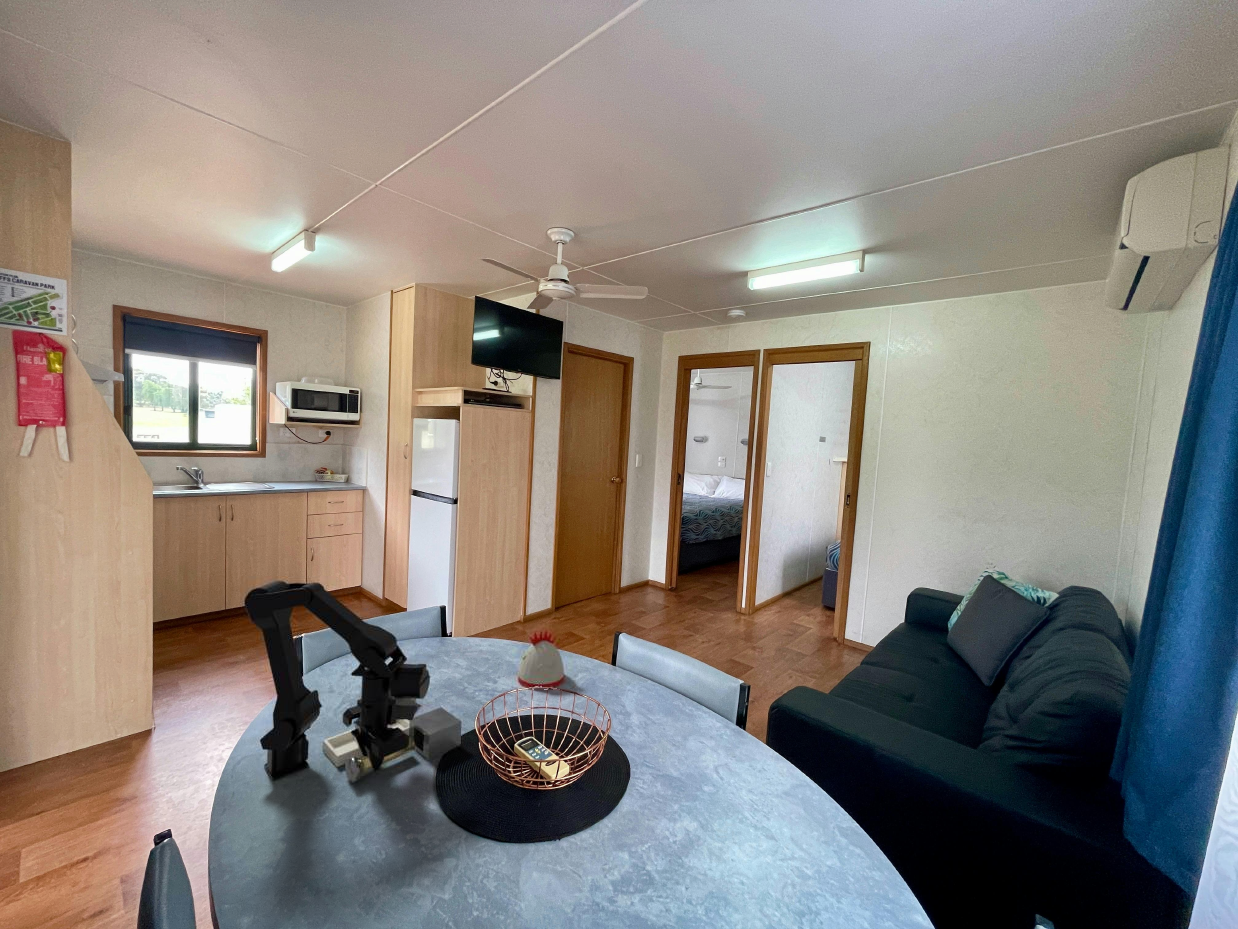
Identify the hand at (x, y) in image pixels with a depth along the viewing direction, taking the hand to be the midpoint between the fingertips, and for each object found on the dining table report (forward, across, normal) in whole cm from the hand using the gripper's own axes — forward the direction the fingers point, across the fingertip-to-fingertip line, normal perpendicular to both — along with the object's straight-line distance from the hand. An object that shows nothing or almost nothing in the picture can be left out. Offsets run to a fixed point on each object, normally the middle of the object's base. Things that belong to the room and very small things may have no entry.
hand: (373, 767), depth 107 cm
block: (+1, 0, -14) cm, 14 cm away
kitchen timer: (+1, +9, -54) cm, 55 cm away
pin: (+1, 0, -2) cm, 2 cm away
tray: (+1, +11, -4) cm, 12 cm away
